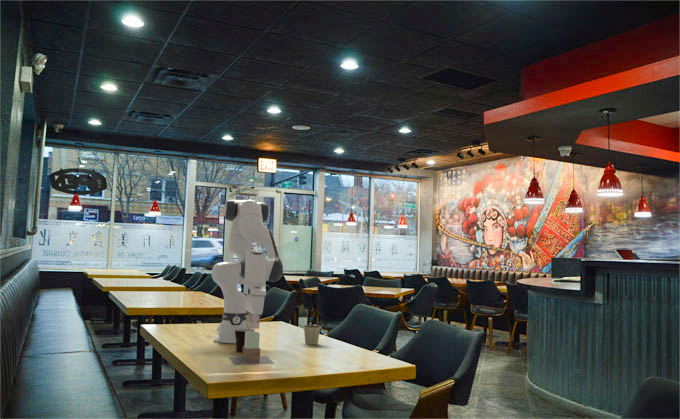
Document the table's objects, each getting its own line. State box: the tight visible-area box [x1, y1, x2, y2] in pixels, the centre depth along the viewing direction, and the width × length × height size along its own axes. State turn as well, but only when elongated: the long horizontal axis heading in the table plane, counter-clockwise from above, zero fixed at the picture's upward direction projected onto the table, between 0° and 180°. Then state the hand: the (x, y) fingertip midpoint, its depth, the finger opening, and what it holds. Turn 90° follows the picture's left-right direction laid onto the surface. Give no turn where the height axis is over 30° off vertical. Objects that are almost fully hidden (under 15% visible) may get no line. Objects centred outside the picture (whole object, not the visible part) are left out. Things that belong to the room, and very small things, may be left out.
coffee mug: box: [235, 329, 256, 354], centre depth 234 cm, size 12×9×10 cm
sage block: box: [244, 331, 260, 349], centre depth 214 cm, size 5×5×6 cm
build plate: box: [228, 355, 275, 366], centre depth 213 cm, size 16×16×1 cm
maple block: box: [246, 314, 261, 330], centre depth 215 cm, size 4×4×5 cm
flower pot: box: [302, 324, 322, 346], centre depth 262 cm, size 9×9×9 cm
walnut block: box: [242, 346, 261, 362], centre depth 213 cm, size 6×6×5 cm
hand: (252, 323), depth 214 cm, fingers closed on maple block, 4 cm apart
